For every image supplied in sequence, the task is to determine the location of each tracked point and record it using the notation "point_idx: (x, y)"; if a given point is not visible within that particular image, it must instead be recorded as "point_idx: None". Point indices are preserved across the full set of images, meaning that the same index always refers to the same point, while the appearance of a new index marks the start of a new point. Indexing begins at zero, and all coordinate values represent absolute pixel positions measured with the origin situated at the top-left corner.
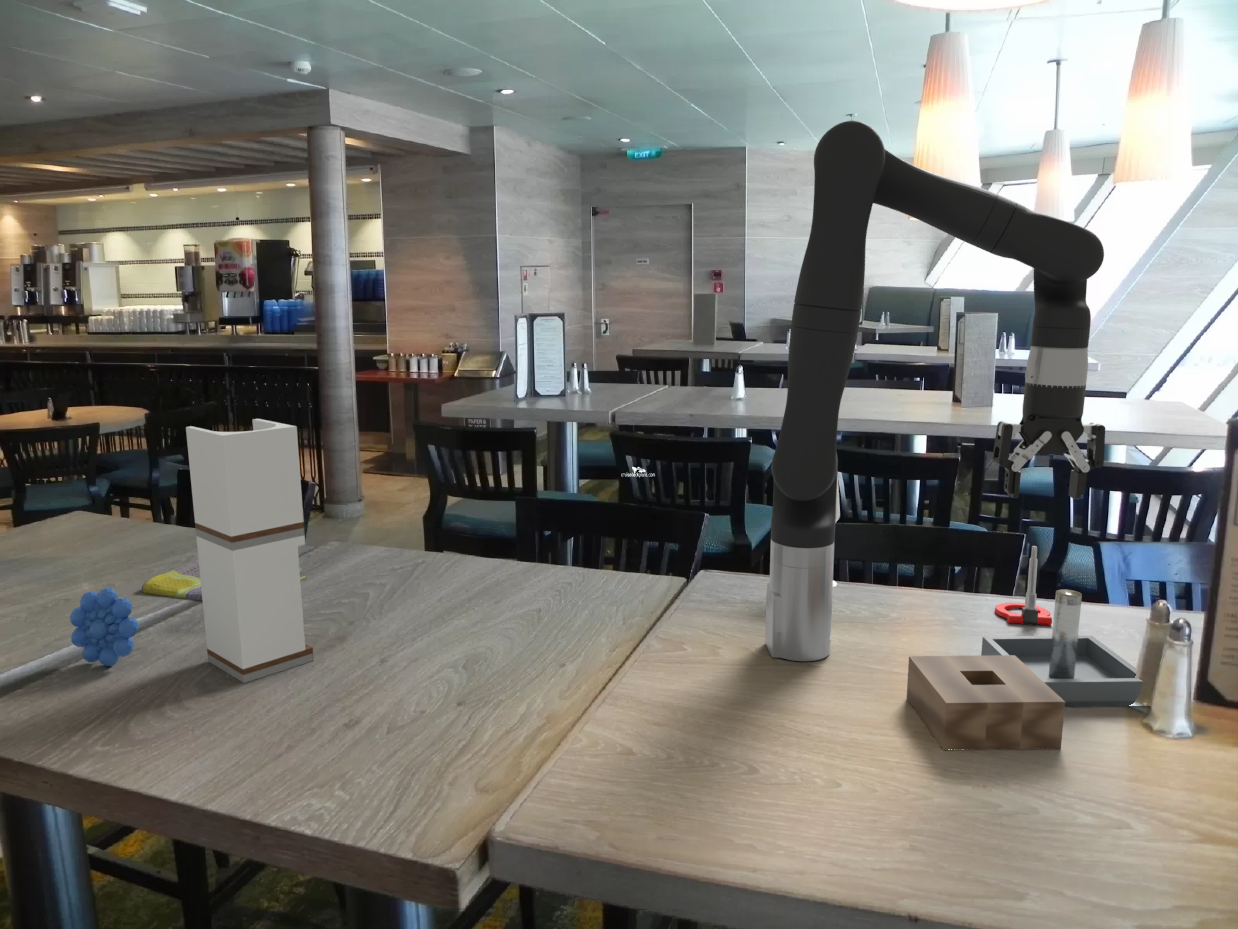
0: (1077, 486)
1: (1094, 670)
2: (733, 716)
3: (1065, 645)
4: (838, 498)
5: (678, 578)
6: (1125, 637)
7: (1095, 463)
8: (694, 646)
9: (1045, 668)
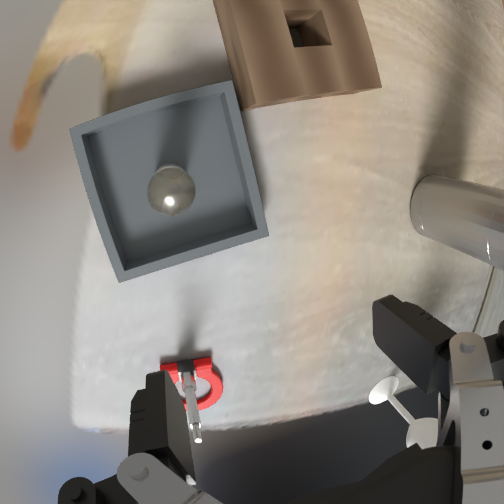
0: (163, 400)
1: (124, 211)
2: (460, 63)
3: (172, 164)
4: None
5: None
6: (80, 349)
7: (92, 495)
8: None
9: None
